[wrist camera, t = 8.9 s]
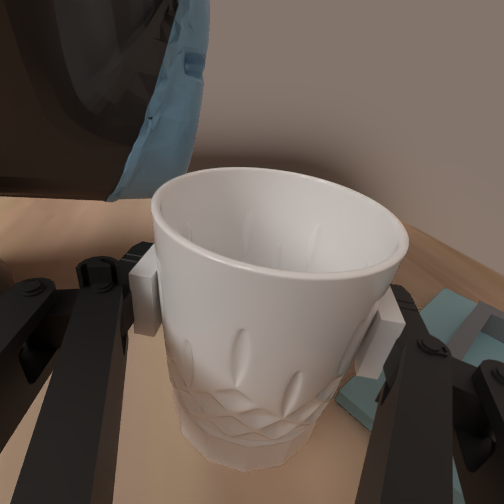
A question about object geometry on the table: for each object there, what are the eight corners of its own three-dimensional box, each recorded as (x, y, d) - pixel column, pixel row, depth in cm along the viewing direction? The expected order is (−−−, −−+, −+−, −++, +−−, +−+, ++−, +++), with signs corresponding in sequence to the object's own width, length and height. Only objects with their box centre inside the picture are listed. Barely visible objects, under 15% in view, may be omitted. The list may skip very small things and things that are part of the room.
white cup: (147, 356, 16) (132, 167, 11) (276, 322, 20) (311, 165, 15) (188, 534, 11) (195, 308, 5) (362, 443, 14) (471, 251, 9)
